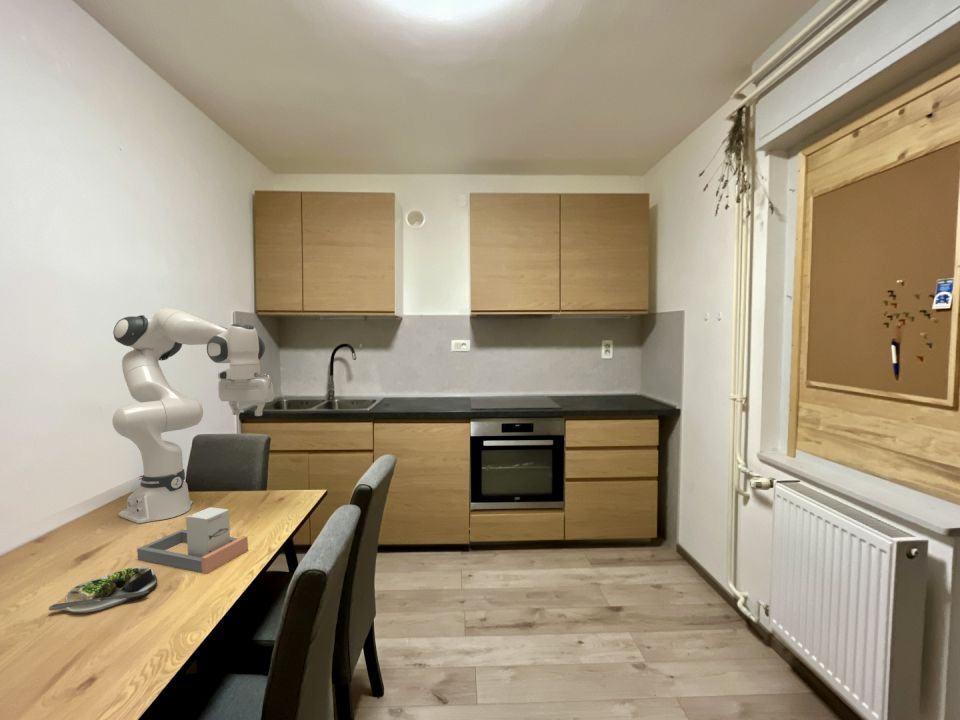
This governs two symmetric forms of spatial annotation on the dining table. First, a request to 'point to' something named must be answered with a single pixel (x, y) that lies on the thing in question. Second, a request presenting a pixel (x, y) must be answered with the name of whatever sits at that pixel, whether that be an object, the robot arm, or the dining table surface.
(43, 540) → the dining table surface
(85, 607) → the salad plate
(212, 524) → the supplement box
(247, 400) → the robot arm
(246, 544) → the bay
